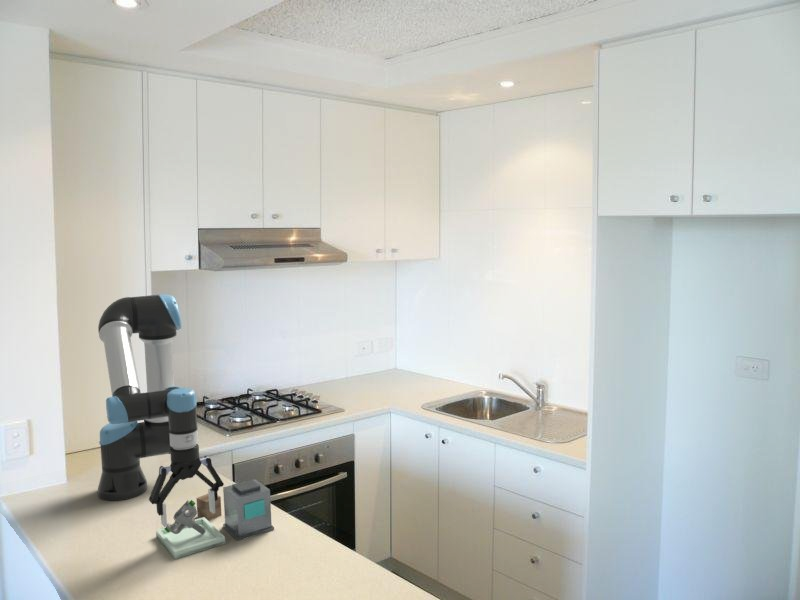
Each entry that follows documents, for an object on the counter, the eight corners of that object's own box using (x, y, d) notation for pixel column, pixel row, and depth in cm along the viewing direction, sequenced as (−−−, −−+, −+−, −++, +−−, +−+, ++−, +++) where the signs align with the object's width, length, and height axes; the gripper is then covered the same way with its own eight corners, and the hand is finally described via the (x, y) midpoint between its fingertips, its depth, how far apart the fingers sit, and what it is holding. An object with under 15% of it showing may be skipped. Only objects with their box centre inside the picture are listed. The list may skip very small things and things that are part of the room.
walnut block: (197, 516, 213) (196, 497, 212) (211, 511, 217) (210, 492, 216) (207, 521, 210) (206, 502, 209) (221, 515, 213) (220, 496, 213)
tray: (156, 536, 200) (156, 530, 200) (204, 523, 208) (204, 516, 208) (174, 559, 187) (174, 552, 187) (225, 543, 195) (224, 536, 195)
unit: (222, 526, 206) (220, 483, 204) (258, 516, 212) (255, 474, 210) (237, 540, 197) (235, 496, 195) (274, 529, 203) (272, 486, 201)
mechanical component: (190, 542, 200) (163, 525, 196) (215, 515, 201) (189, 497, 197) (191, 548, 198) (164, 531, 193) (217, 520, 199) (191, 503, 194)
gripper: (141, 459, 184) (147, 536, 187) (232, 439, 198) (236, 511, 201) (133, 451, 190) (139, 525, 193) (222, 432, 204) (226, 502, 207)
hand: (188, 518), depth 197 cm, fingers open, 13 cm apart
